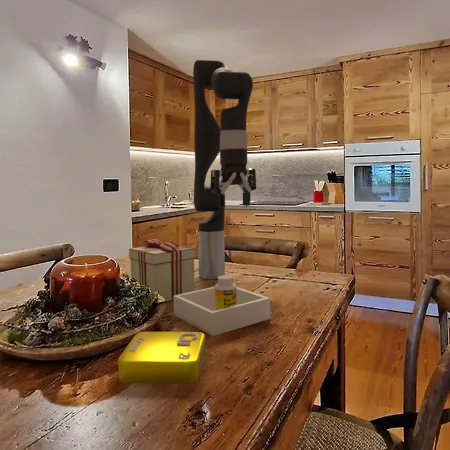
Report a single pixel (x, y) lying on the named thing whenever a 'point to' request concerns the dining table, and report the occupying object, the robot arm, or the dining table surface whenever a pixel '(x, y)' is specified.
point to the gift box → (163, 267)
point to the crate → (224, 318)
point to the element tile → (163, 358)
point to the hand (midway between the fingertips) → (234, 206)
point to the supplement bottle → (225, 292)
